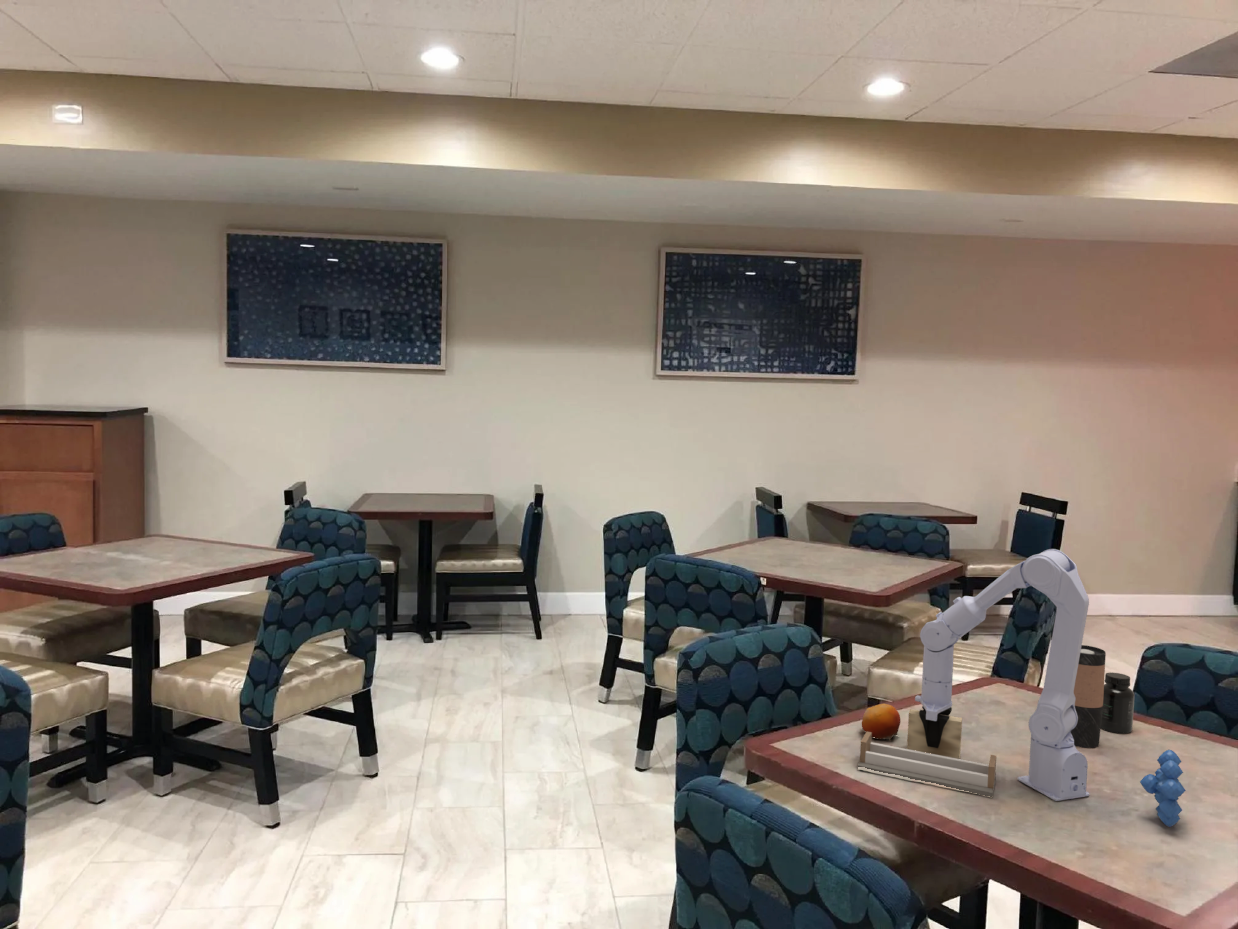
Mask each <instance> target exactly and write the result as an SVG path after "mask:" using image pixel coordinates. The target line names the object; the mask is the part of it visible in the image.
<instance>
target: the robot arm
mask: <svg viewBox="0 0 1238 929" xmlns="http://www.w3.org/2000/svg"><path fill="white" fill-rule="evenodd" d="M1028 587H1033V588H1034V589H1036V590H1037V591H1039V592H1041V593H1042V594H1044V595H1045V596H1047V598H1048V599H1049V600H1050V601H1051V602H1052V603H1053V604H1054V606H1055V607H1056V612H1055V617H1054V622H1053V630H1052V635H1051V636H1052V637H1051V641H1050V646H1049V653H1048V659H1047V664H1046V670H1045V677H1044V682H1043V687H1042V688H1043V689H1042V691H1041V694H1040V696H1039V698H1038V701H1037V704H1036V709H1035V711H1034V712H1033V713H1032V714H1031V716H1029V720H1028V730H1029V731H1030V732H1029V733H1030V746H1029V747H1030V748H1029V749H1030V750H1029V762H1028V775H1022V776H1017V781H1019V782H1020V783H1022V784H1024V785H1026V786H1028V787H1030V788H1031V789H1034V790H1035V791H1037V792H1039V793H1041V794H1042V795H1044V796H1046V797H1048V798H1049V799H1051V800H1053V801H1055V802H1056V801H1057V802H1058V801H1059V802H1060V801H1065V800H1070V799H1071V800H1072V799H1077V798H1078V799H1079V798H1083V797H1089V796H1090V792H1088V791H1087V781H1088V780H1087V779H1088V767H1089V766H1088V759H1087V757H1086V756H1085V755H1084V754H1083V753H1082V752H1081V751H1080V750H1078V749H1077V746H1075V745H1074V739H1073V736H1072V734H1071V730H1072V729H1074V728H1075V726H1076V725H1077V722H1078V716H1077V713H1076V710H1075V699H1076V698H1075V695H1074V686H1075V680H1076V675H1077V669H1078V663H1079V658H1080V652H1081V646H1082V645H1083V640H1084V639H1083V638H1084V634H1085V630H1086V628H1085V627H1086V624H1087V617H1088V611H1089V606H1090V598H1089V595H1088V594H1087V591H1086V589H1085V586H1084V584H1083V582H1082V579H1081V577H1080V574H1079V571H1078V567H1077V564H1076V563H1075V562H1074V561H1073V560H1072V559H1071V558H1070V557H1069V556H1068V555H1067V554H1066V553H1064V552H1063V551H1062V550H1059V549H1056V548H1049V549H1046V550H1043V551H1042V552H1040V553H1037V554H1033V555H1031V556H1029V557H1027V558H1026V559H1025V560H1023V561H1020V562H1019V563H1017V564H1016V565H1014V566H1012V567H1009V568H1008V569H1007V570H1006V571H1005V572H1003V573H1002V574H1001V575H1000V576H998V577H997V578H996V579H995V580H994V581H992V582H991V583H990V584H989V585H988V586H986V587H985V588H984V589H982V590H981V591H980V592H979V593H978V594H977V595H976V596H969V595H964V596H962V597H960V596H958V597H956V598H955V599H953V600H952V602H953V604H952V605H951V606H950V607H948V608H947V609H946V610H944V611H943V612H942V611H940V612H938V613H937V614H936V615H935V617H936V619H935V620H932V621H928V622H926V623H925V624H924V625H923V627H922V628H921V630H920V633H919V636H920V637H919V638H920V641H921V644H922V645H923V658H922V659H923V660H922V679H921V693H920V694H921V695H916V696H915V697H914V701H915V702H918V703H920V704H921V705H922V707H921V709H919V710H918V711H919V716H920V719H921V720H922V723H923V726H924V730H925V736H926V742H927V746H928V747H934V748H938V747H939V744H940V741H941V736H942V732H943V728H944V726H945V724H946V723H947V721H948V719H949V716H950V714H951V713H952V710H953V707H952V706H953V701H952V697H953V696H952V693H953V690H952V689H953V673H954V651H955V650H954V649H955V648H954V646H955V645H956V643H958V641H959V639H960V638H962V637H963V636H964V635H967V633H969V632H970V631H971V630H972V629H975V628H976V627H977V626H979V625H980V624H981V623H983V622H984V621H985V620H986V618H987V610H988V609H989V608H990V607H992V606H993V605H995V604H997V603H998V602H999V601H1001V600H1002V599H1003V598H1005V597H1006V596H1008V595H1010V594H1011V593H1013V591H1015V590H1017V589H1026V588H1027V589H1028ZM940 714H941V715H940ZM945 715H947V716H945Z"/></svg>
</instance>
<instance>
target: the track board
mask: <svg viewBox="0 0 1238 929" xmlns="http://www.w3.org/2000/svg"><path fill="white" fill-rule="evenodd" d="M872 739H873V738H872V732H865V734H863V737H862V739H861V741H860V748H859V749H860V750H859V752H860V753H859V762H858V764H857V768H858V767H865V768H867V769H871V770H874V771H879V772H883V773H888V774H895V775H900V776H903V777H908V778H910V779H915V780H921V781H925V782H931V783H936V784H939V785H944V786H946V787H951V788H956V789H959V790H964V791H969V792H972V793H977V794H980V795H985V796H990V797H992V796H993V797H994V791H993V790H995V785H996V784H995V783H996V779H995V778H997V771H996V770H997V755H995V754H990V756H989V763H988V764H987V763H982V762H976V761H972V760H965V759H961V758H960V759H957V758H951V757H946V756H941V755H936V754H930V753H925V752H920V751H915V750H910V749H907V748H904V747H900V746H899V747H898V746H892V745H889V744H882V743H878V742H874V741H873V742H872ZM994 784H995V785H994ZM993 797H992V798H993Z"/></svg>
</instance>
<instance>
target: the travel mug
mask: <svg viewBox="0 0 1238 929" xmlns="http://www.w3.org/2000/svg"><path fill="white" fill-rule="evenodd" d="M1106 656H1107V654H1106V651H1105V650H1104V649H1103V648H1098V647H1096V646H1092V645H1086V644H1082V646H1081V652H1080V658H1079V663H1078V669H1077V675H1076V680H1075V686H1074V695H1075V698H1076V699H1075V710H1076V713H1077V716H1078V722H1077V725H1076V726H1075V728H1074V729H1072V730H1071V734H1072V736H1073V739H1074V745H1075V747H1079V748H1085V749H1091V748H1092V749H1095V748H1096V747H1098V746H1100V737H1101V730H1102V729H1101V719H1102V709H1103V694H1104V684H1105V674H1106Z"/></svg>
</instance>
